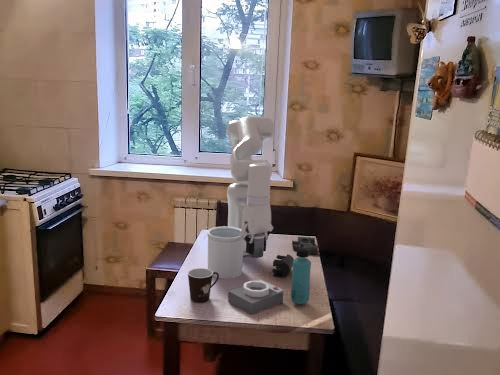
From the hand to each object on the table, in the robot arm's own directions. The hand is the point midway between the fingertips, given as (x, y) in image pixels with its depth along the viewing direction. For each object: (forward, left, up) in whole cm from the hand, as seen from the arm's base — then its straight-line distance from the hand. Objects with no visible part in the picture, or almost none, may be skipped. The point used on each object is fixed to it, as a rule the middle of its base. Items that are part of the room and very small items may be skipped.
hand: (255, 251), depth 155 cm
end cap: (-11, +27, -19) cm, 34 cm away
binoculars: (-26, +57, -19) cm, 65 cm away
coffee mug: (-11, -13, -18) cm, 25 cm away
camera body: (+1, 0, -18) cm, 18 cm away
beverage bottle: (+12, +11, -18) cm, 24 cm away
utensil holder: (-25, +8, -18) cm, 32 cm away
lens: (0, 0, -1) cm, 1 cm away
